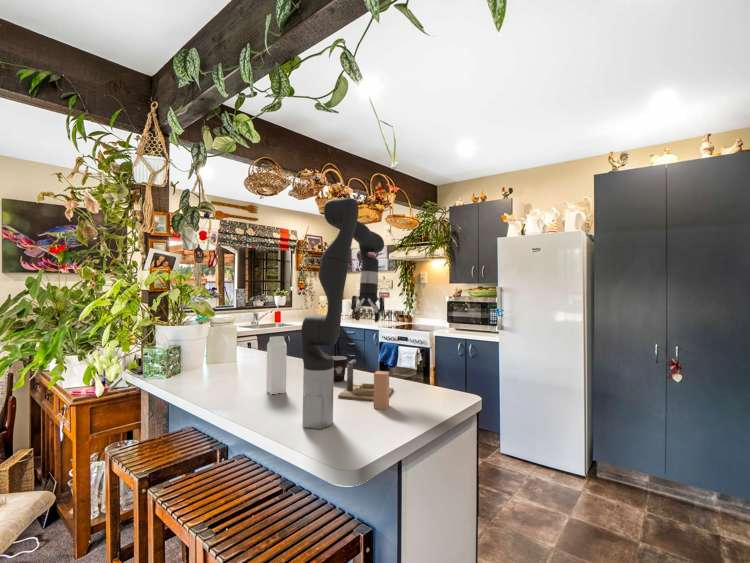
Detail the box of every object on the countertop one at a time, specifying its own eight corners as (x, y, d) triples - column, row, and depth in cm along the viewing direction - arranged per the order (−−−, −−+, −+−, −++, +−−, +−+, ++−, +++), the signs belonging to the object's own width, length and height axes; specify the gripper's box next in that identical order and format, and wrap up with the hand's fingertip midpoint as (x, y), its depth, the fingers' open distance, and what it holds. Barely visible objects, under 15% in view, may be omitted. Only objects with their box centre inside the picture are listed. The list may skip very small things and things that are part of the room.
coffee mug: (348, 378, 171) (348, 356, 171) (344, 383, 162) (345, 360, 162) (323, 377, 172) (323, 355, 172) (318, 382, 163) (318, 359, 163)
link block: (386, 409, 129) (386, 374, 129) (373, 408, 130) (373, 373, 130) (388, 405, 133) (389, 371, 133) (376, 404, 134) (377, 370, 134)
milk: (266, 391, 148) (266, 336, 149) (280, 389, 152) (281, 335, 152) (271, 395, 143) (271, 337, 144) (286, 392, 147) (286, 336, 147)
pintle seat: (384, 402, 136) (384, 369, 137) (338, 397, 141) (338, 366, 141) (393, 390, 152) (393, 360, 152) (351, 386, 156) (351, 358, 157)
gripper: (350, 281, 157) (347, 320, 156) (381, 282, 151) (379, 322, 150) (357, 282, 164) (355, 319, 163) (387, 283, 158) (385, 322, 157)
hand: (366, 321), depth 157 cm, fingers open, 8 cm apart
